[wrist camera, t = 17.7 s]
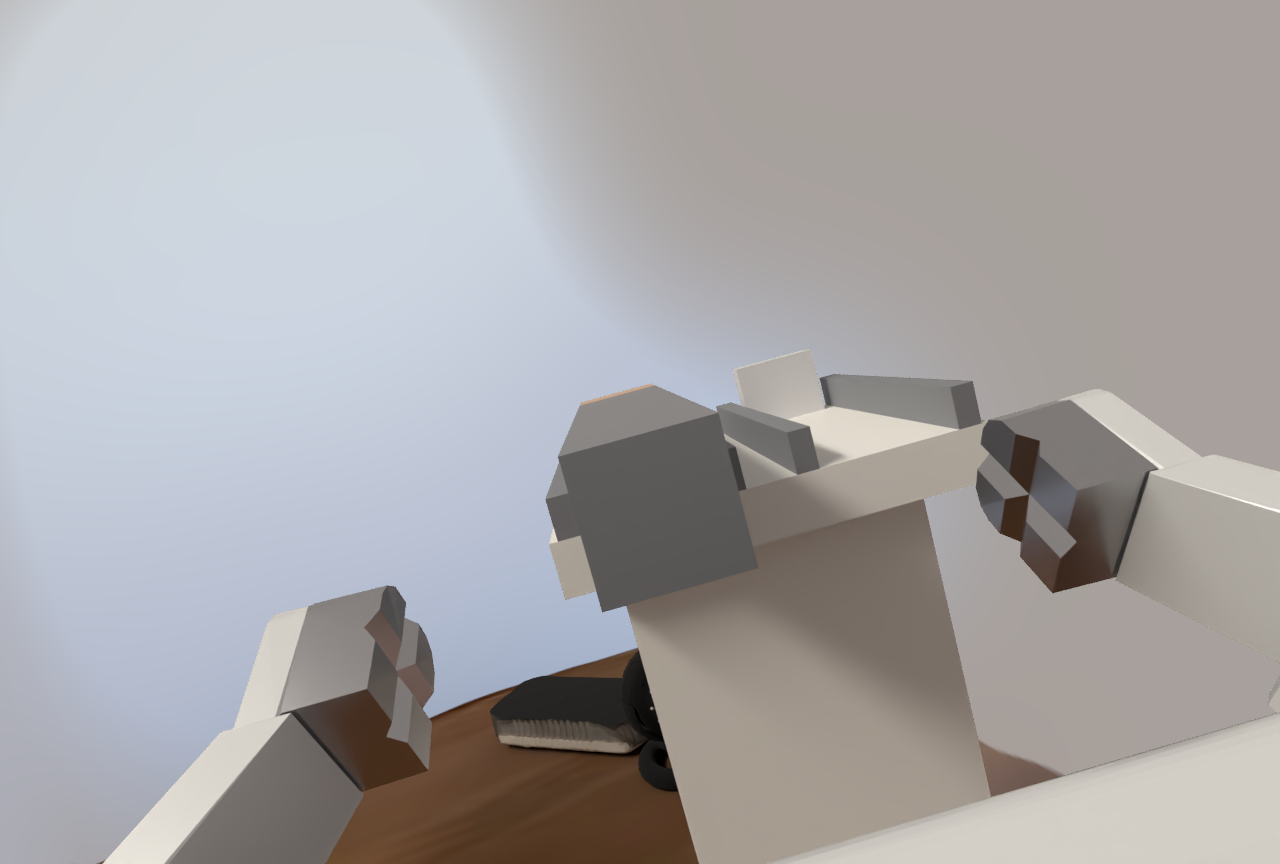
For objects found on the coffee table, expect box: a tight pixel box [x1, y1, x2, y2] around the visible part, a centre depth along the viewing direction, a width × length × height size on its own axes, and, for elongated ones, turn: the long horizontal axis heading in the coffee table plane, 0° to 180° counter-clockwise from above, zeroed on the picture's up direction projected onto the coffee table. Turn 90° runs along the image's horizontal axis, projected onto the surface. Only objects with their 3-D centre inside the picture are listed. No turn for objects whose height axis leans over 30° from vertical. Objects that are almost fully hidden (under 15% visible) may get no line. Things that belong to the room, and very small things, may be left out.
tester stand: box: [546, 350, 991, 864], centre depth 32 cm, size 16×14×29 cm
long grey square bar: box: [558, 384, 758, 612], centre depth 25 cm, size 4×20×4 cm, turn 3°
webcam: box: [620, 651, 678, 790], centre depth 54 cm, size 8×8×10 cm
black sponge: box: [490, 676, 649, 753], centre depth 63 cm, size 16×8×4 cm, turn 61°
